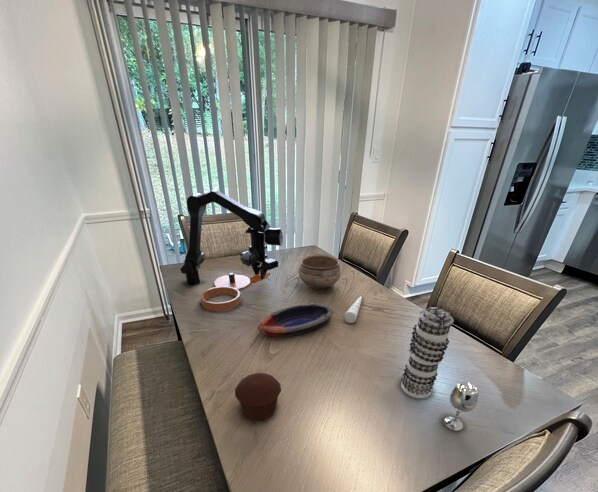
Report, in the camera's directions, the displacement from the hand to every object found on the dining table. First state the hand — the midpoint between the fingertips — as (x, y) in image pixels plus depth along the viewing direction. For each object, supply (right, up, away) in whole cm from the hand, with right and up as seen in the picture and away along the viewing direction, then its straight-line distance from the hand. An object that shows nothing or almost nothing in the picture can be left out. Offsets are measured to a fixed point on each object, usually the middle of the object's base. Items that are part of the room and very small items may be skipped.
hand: (259, 278), depth 143 cm
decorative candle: (+51, -40, -50) cm, 82 cm away
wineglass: (+57, -48, -61) cm, 96 cm away
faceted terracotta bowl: (-15, -12, -8) cm, 21 cm away
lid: (-14, -1, +7) cm, 16 cm away
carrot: (0, -1, +1) cm, 1 cm away
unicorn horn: (+40, -15, -12) cm, 45 cm away
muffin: (+7, -45, -58) cm, 73 cm away
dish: (+16, -22, -23) cm, 36 cm away
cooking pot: (+27, -3, +7) cm, 28 cm away
